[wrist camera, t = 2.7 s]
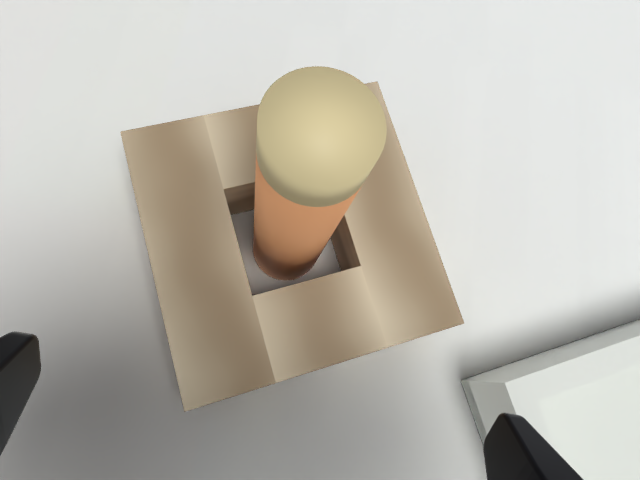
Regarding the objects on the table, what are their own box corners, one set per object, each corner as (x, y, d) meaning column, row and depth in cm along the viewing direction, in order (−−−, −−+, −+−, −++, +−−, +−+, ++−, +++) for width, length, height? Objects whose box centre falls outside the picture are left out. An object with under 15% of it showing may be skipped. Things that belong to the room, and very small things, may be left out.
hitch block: (194, 405, 20) (184, 412, 17) (139, 166, 23) (120, 131, 19) (432, 330, 23) (464, 323, 19) (360, 120, 25) (377, 81, 22)
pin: (262, 288, 22) (277, 198, 11) (245, 226, 23) (242, 78, 11) (325, 270, 23) (404, 168, 11) (307, 211, 23) (363, 56, 12)
